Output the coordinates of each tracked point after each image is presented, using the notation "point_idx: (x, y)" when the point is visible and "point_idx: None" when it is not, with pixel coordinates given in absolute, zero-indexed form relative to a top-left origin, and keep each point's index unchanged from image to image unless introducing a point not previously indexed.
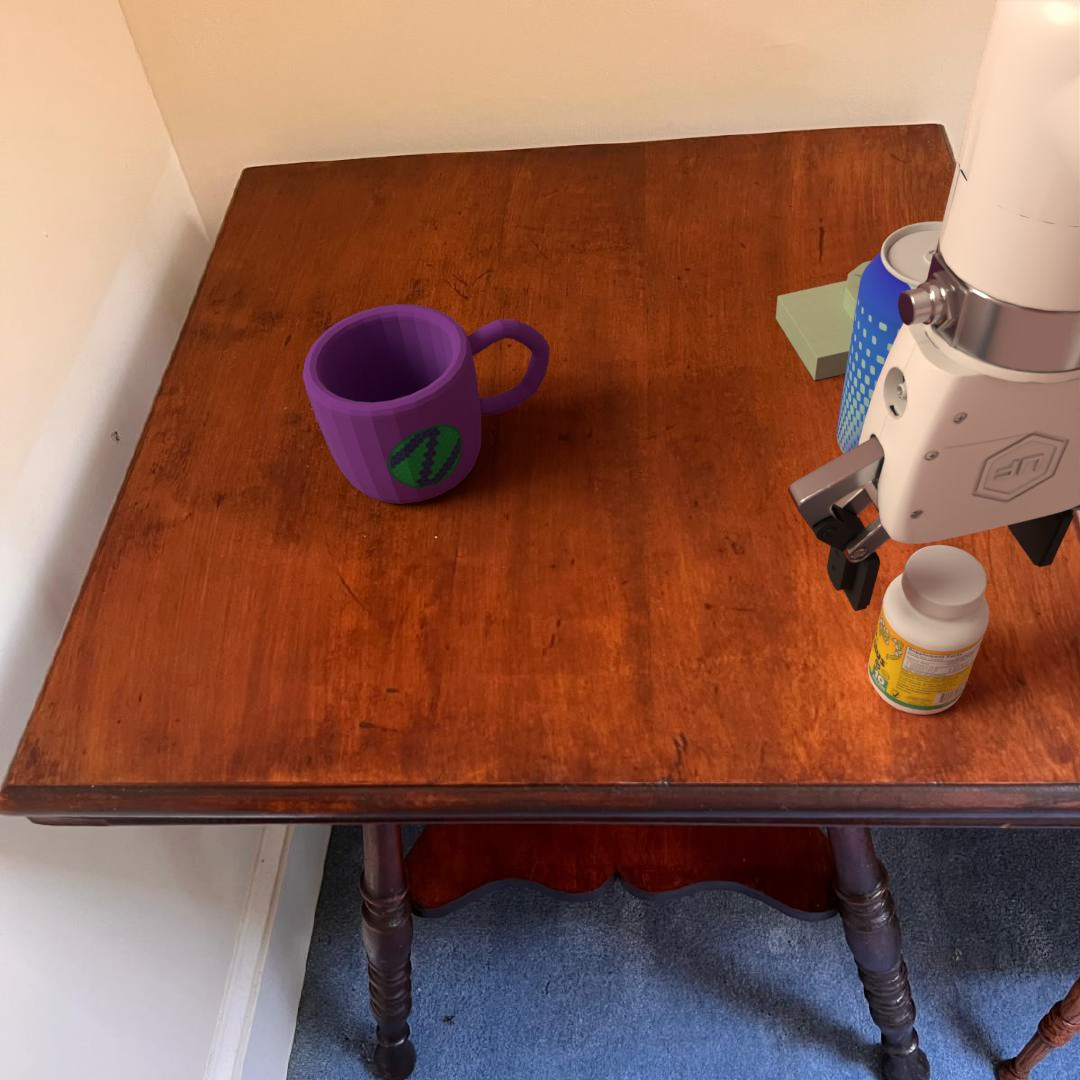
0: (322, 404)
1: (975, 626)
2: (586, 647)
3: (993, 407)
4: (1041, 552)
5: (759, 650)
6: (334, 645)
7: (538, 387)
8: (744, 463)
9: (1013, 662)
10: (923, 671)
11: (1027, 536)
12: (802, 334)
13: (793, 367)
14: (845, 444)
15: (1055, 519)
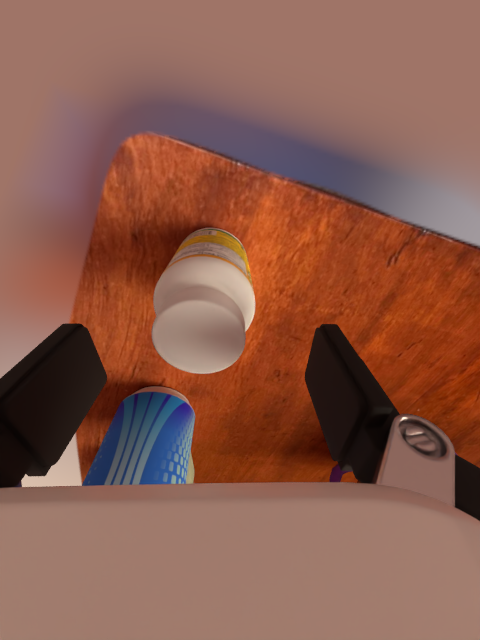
0: None
1: (179, 274)
2: (397, 337)
3: None
4: (68, 344)
5: (302, 310)
6: None
7: (333, 470)
8: (246, 414)
9: (135, 254)
10: (231, 251)
11: (84, 367)
12: (188, 470)
13: (196, 450)
14: (193, 420)
15: (10, 406)
